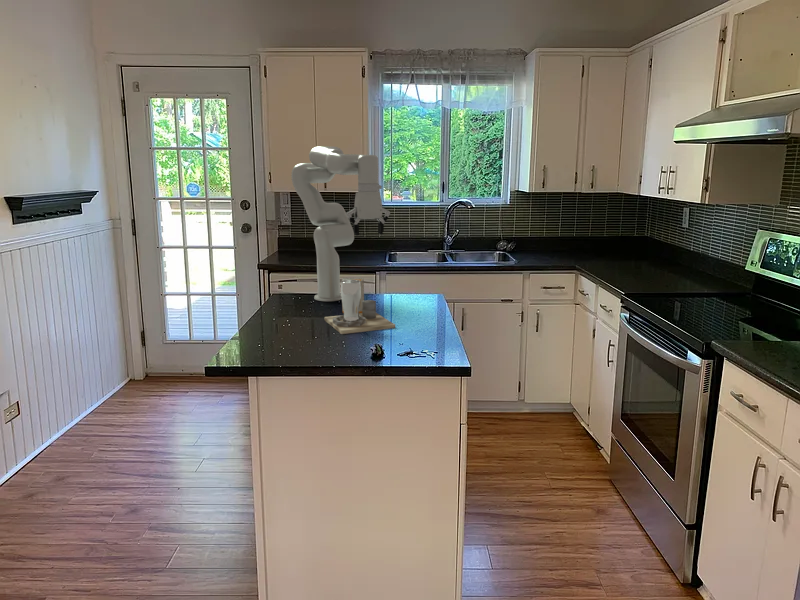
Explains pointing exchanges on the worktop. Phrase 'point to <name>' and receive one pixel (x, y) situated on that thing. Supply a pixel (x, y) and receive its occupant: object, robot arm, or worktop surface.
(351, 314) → the beer glass
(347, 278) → the supplement box
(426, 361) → the worktop surface
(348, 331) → the carrier board
